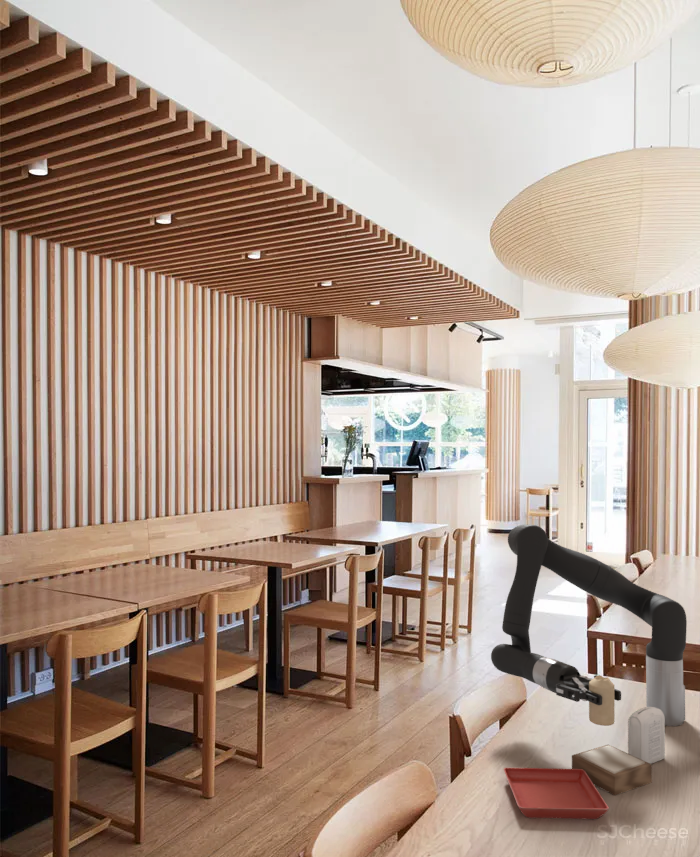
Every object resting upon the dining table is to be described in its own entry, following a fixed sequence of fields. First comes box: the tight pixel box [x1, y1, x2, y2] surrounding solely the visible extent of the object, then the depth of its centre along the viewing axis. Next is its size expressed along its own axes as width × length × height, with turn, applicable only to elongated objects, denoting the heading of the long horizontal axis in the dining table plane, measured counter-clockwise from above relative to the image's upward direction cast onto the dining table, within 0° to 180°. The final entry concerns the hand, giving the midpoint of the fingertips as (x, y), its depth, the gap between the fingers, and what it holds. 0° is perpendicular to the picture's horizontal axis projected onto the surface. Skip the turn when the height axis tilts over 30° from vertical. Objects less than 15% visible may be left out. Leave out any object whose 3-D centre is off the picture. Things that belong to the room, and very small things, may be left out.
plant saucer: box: [502, 767, 610, 820], centre depth 150 cm, size 18×18×3 cm
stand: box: [571, 744, 653, 796], centre depth 160 cm, size 12×12×4 cm
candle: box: [588, 674, 616, 726], centre depth 163 cm, size 6×6×10 cm
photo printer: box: [627, 706, 666, 764], centre depth 169 cm, size 10×4×12 cm, turn 123°
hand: (610, 698), depth 161 cm, fingers closed on candle, 5 cm apart
